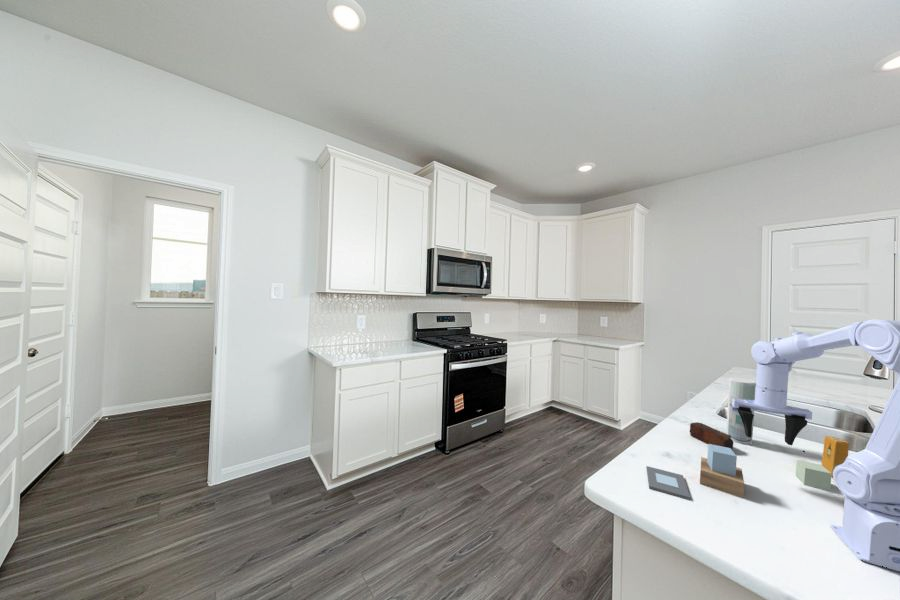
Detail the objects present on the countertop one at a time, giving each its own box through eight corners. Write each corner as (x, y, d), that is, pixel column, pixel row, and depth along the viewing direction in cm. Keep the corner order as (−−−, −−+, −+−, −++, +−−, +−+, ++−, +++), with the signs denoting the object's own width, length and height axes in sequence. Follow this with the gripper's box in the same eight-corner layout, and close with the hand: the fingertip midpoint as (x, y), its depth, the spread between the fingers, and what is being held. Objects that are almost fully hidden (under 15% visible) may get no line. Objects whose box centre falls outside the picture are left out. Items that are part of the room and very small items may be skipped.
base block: (743, 499, 73) (744, 483, 73) (699, 485, 78) (700, 469, 78) (740, 483, 79) (741, 468, 79) (700, 471, 84) (701, 457, 84)
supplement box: (848, 480, 81) (851, 442, 81) (832, 478, 82) (834, 441, 82) (835, 472, 84) (837, 436, 84) (819, 471, 85) (822, 435, 85)
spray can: (751, 439, 103) (755, 380, 102) (753, 447, 98) (757, 384, 97) (725, 433, 107) (728, 376, 106) (726, 440, 102) (729, 380, 101)
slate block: (735, 476, 75) (736, 456, 75) (711, 470, 78) (713, 451, 77) (729, 467, 79) (730, 448, 79) (707, 462, 81) (708, 443, 81)
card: (690, 499, 72) (690, 497, 72) (649, 488, 76) (649, 485, 76) (682, 477, 81) (682, 474, 81) (646, 468, 84) (646, 465, 84)
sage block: (830, 491, 77) (831, 473, 76) (804, 485, 79) (805, 467, 79) (820, 481, 80) (821, 464, 80) (795, 476, 83) (796, 459, 82)
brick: (688, 436, 104) (689, 422, 104) (697, 435, 105) (698, 421, 105) (724, 452, 94) (725, 437, 94) (733, 451, 95) (734, 436, 95)
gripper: (803, 388, 80) (799, 440, 81) (729, 379, 87) (726, 427, 88) (818, 396, 74) (814, 452, 74) (737, 386, 81) (734, 437, 81)
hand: (767, 439), depth 81 cm, fingers open, 7 cm apart
